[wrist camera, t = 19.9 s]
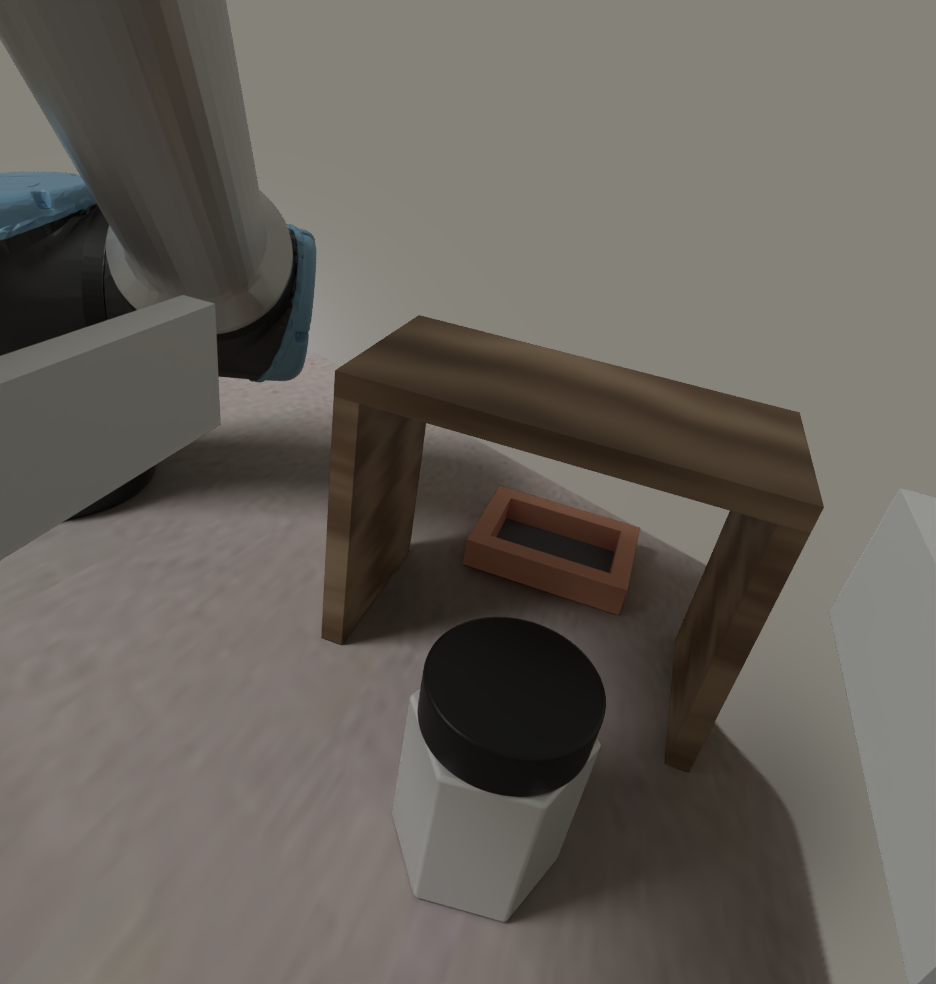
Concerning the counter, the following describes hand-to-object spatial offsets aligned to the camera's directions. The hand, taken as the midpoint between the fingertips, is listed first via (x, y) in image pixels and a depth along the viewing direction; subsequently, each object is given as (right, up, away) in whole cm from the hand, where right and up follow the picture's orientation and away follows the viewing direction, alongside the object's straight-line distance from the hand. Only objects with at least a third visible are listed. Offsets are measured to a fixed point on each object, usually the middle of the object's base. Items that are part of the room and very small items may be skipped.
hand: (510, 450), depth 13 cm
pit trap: (+6, -6, +45) cm, 46 cm away
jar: (-1, -19, +23) cm, 30 cm away
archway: (+3, -12, +36) cm, 38 cm away
